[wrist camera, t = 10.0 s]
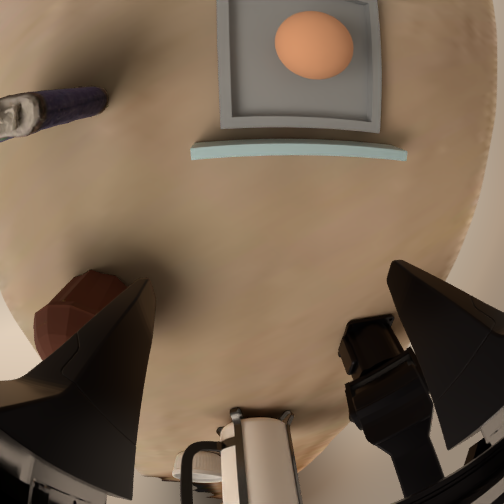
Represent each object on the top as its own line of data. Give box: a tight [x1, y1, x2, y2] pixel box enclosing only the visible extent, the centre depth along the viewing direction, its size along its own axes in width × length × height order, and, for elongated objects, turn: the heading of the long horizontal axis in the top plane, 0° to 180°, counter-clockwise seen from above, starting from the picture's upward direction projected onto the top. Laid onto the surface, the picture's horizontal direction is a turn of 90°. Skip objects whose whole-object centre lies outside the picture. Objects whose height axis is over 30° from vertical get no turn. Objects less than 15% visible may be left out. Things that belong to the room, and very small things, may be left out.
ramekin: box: [172, 451, 222, 483], centre depth 51 cm, size 13×13×7 cm
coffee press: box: [180, 408, 303, 504], centre depth 30 cm, size 17×16×30 cm
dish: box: [217, 0, 382, 133], centre depth 15 cm, size 12×12×1 cm
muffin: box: [34, 270, 128, 360], centre depth 22 cm, size 12×11×10 cm
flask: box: [0, 86, 108, 142], centre depth 11 cm, size 9×3×11 cm, turn 87°
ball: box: [275, 11, 354, 80], centre depth 13 cm, size 5×5×5 cm
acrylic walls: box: [190, 139, 407, 161], centre depth 15 cm, size 16×16×2 cm
